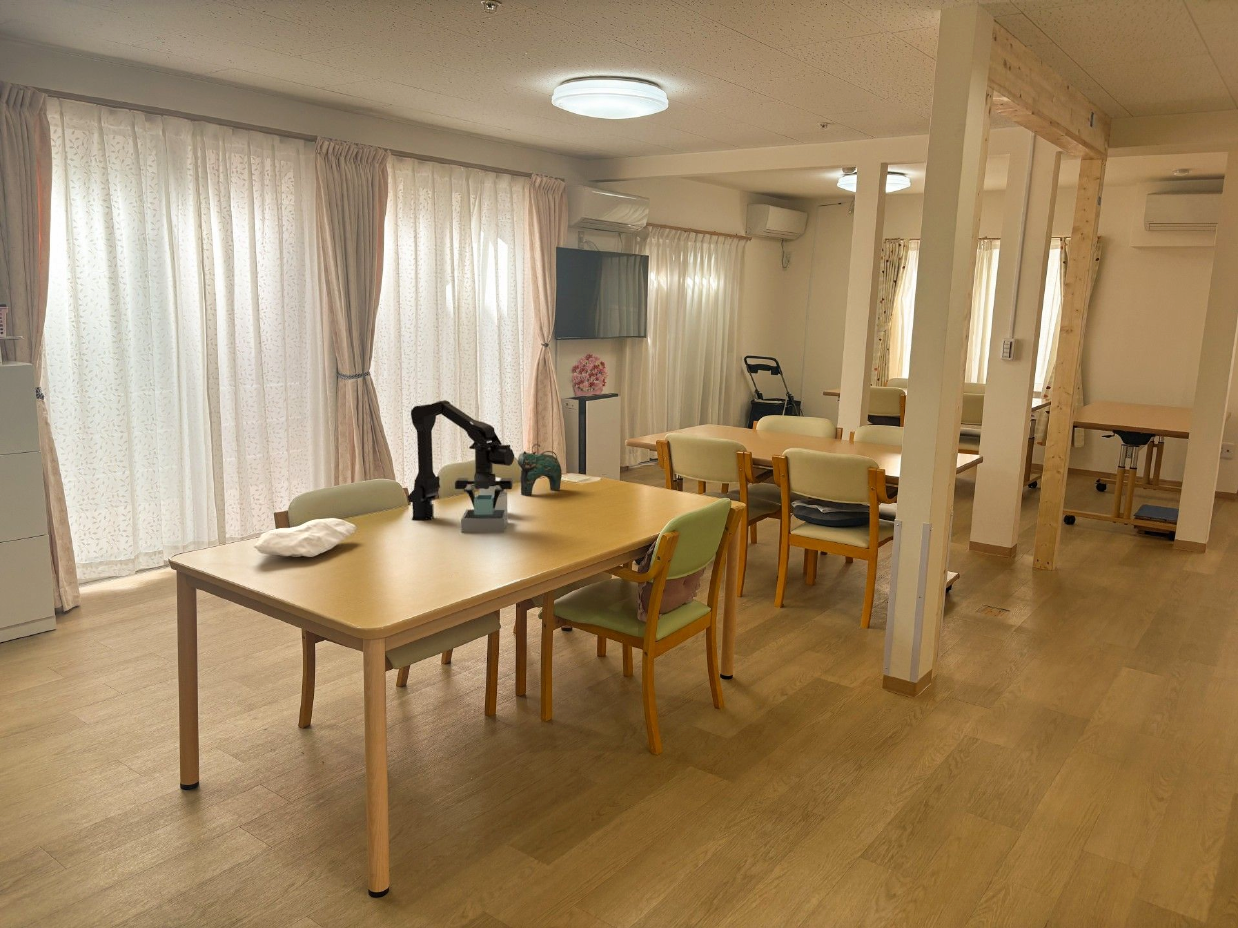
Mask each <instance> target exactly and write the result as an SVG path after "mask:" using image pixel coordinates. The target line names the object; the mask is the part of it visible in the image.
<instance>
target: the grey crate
mask: <svg viewBox="0 0 1238 928" xmlns="http://www.w3.org/2000/svg"><path fill="white" fill-rule="evenodd" d="M508 520H509V519H508V508H507V509H494V512H493V514H492V515H474V508H473V509H471V508H469V509H466V510H465V511H464V513H463V515H462V517H461V519H460V523H461V524H460V528H461V533H505V531H506V529H507V524H508Z"/></svg>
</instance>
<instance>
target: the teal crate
mask: <svg viewBox="0 0 1238 928" xmlns="http://www.w3.org/2000/svg"><path fill="white" fill-rule="evenodd" d="M493 502H494V495H479V494H475V499H474V507H473V509H474V515H492V514H493V512H494V509H493Z"/></svg>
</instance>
